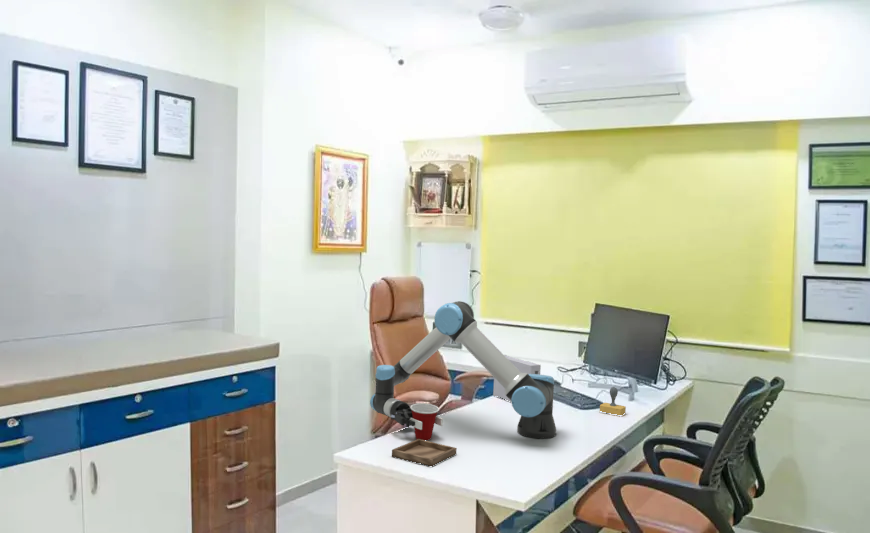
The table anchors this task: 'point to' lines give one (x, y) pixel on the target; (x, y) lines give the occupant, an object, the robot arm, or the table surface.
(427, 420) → the plastic cup
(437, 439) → the table surface
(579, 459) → the table surface
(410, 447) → the cup tray
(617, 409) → the rubber stamp
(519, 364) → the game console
